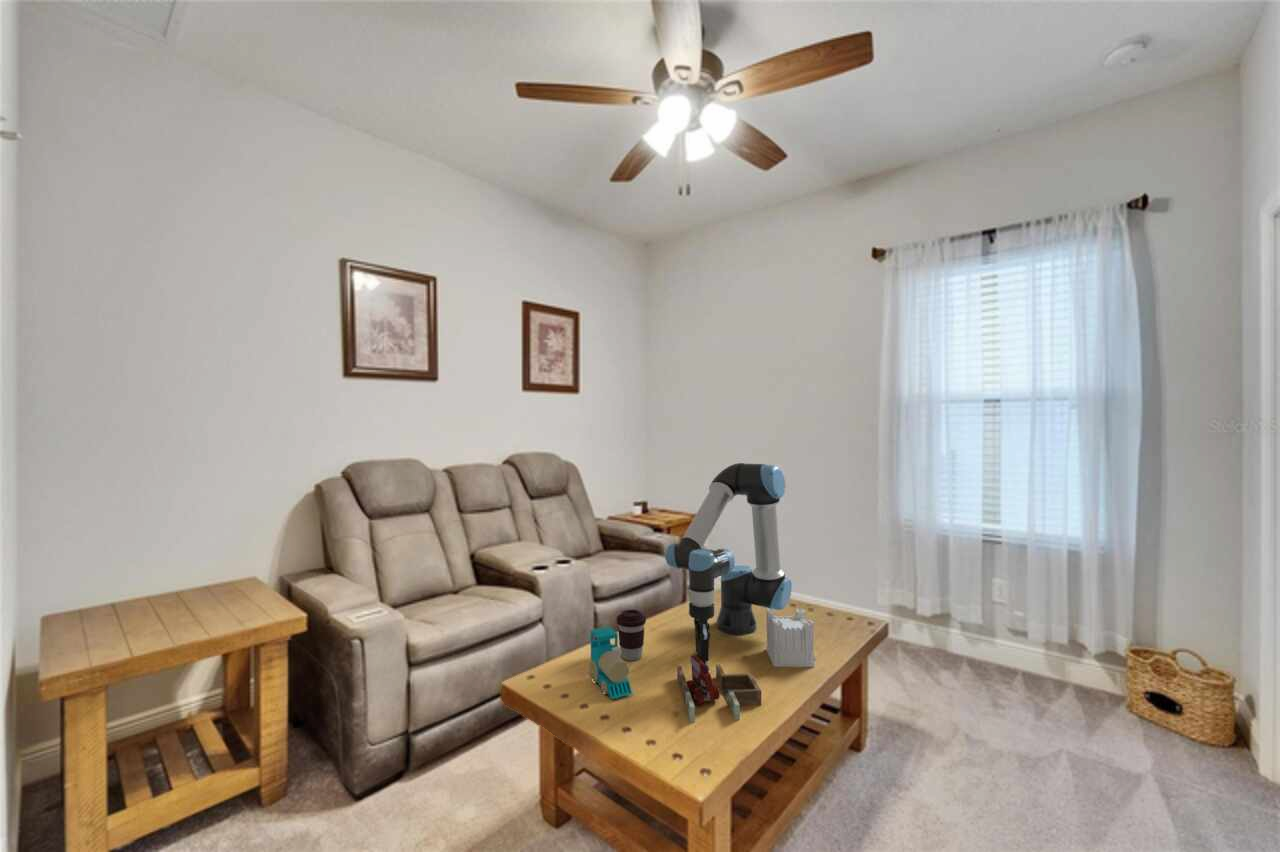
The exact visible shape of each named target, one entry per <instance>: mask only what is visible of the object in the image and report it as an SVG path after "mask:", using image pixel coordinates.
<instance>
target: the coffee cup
mask: <svg viewBox="0 0 1280 852" xmlns="http://www.w3.org/2000/svg"><path fill="white" fill-rule="evenodd" d="M646 622H647V617H646V615H644V614H642V612H641V611H640V610H638V609H626V610H623V611H622V612H621V613H620V614H618V615H617V616H616V624H617V625H618V628H617V630H618V632H617V633H618V642H619V643H618V644H619V648H621V649H620V658H621V659H622V660H624V659H625V660H624V661H628V660H630V661H633V660H634V661H638V660H640V659H641V658H642V657H643V647H644V641H645V640H644V639H645V627H644V626H645V624H646ZM630 661H629V662H630ZM634 661H633V662H634Z"/></svg>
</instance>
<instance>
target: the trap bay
mask: <svg viewBox="0 0 1280 852" xmlns="http://www.w3.org/2000/svg"><path fill="white" fill-rule="evenodd" d="M721 676H722V678H723V677H724V681H725V679H726V681H725V682H726V683H725V682H723V680H721V681H722V682H721V683H722V689H721V691H722V694H723V696H724V698H725V700H726V702H727V703H728V701H729V698H728V691H729V692H734V694H735V696H736V698H737V700H738V702H739V704H740V707H747V706H750V707H751V706H762V690H761V688H760V687H759V684H758V683H757V681H756V679H755V677H754V676H753V674H752V673H736V674H735V673H734V674H733V673H732V674H725V675H721ZM725 676H726V678H725ZM722 678H721V679H722ZM723 684H724V685H723ZM725 685H726V686H725ZM723 686H725V687H723Z"/></svg>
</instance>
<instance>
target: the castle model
mask: <svg viewBox="0 0 1280 852" xmlns="http://www.w3.org/2000/svg"><path fill="white" fill-rule="evenodd" d="M776 613H777V612H776V609H770V608H767V609H766V646H765V649H766V652H767V654H768V657H769V659H770V661H771V663H772V665H773V667H774V668H776V667H777V668H815V661H816V660H817V656H815V651H814V649H815V648H814V643H815V642H814V640H815V639H814V634H815V633H814V630H815V629H814V627H815V626H814V625H815V624H814V622H813V620H812V619H808V620H807V619H806V611H805V610H804V609H803V608H800V609H798V608H795V615H794V616H793V615H789V616H787V615H784V617H783V615H779V617H778V615H777V614H776Z"/></svg>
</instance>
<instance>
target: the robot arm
mask: <svg viewBox="0 0 1280 852" xmlns="http://www.w3.org/2000/svg"><path fill="white" fill-rule="evenodd" d="M785 489H786V480H785V476H784V473H783V471H782V469H781V468H780V467H778V466H777V465H773V464H767V463H743V462H739V463H738V462H737V463H734V464H731V465H729V466H727V467H725V468H724V469H723V470H721V471H720V472H719V473H718V474H717V475H716V476H715V477H714V479H712V481H711V483H710V484H709V486H708V491H709V492H708V493H707V495H706V497H705V498H704V500H703V501H702V503H701V505H700V507H699V509H698V511H697V512H696V514H695V516H694V517H693V518H692V521H691V522H690V524H689V526H688V527H687V529H686V530H685V532H684V534H683V536H682V537H681V539H680V541H679V542H678V543H671V544H669V545H668V546H667V548H666V550H665V555H664V557H665V562H666V564H667V565H668V566H670V567H673V568H675V569H678V570H679V569H682V570H687V571H688V577H689V578H688V580H689V581H688V588H689V590H688V591H687V593H686V594H687V596H689V597H688V601H689V604H688V610H689V611H688V615H689V617H691V618H693V623H694V624H693V625H694V636H695V637H694V638H695V639H694V641H695V642H694V643H695V653H696V655H697V656H698V657H699V658H700V659H701V660H702V661H703V662H704V664H705V665H707V666H708V663H707V662H709V654H710V650H709V649H710V638H711V633H710V631H709V630H710V622H708V620H710V619H712V618H714V616H715V604H714V603H715V579H717V578H719V577H720V601H721V603H720V604H721V605H720V609H719V613H718V615H717V617H716V627H717V629H718V630H719V631H721V632H723V633H727V634H730V635H747V634H751V633H755V632H756V630H757V620H756V617H755V614H754V611H753V607H752V606H758V607H763V608H767V609H770V610H771V609H774V610H775V611H776V610H777V611H782V610H783V609H785V608H786V606H787V605H788V603H789V601H790V598H791V596H792V589H793V588H792V587H793V584H792V580H791V579H790V578H788V577H786V573H785V570H784V569H783V568H782V567H781V562H780V549H779V547H780V546H779V545H780V544H779V531H778V518H777V517H778V516H777V505H778V504H779V503H780V500H781V498H783V497H784V495H785ZM738 495H740V496H746V503H747V504H748V505H750V506H751V514H752V528H753V539H754V542H753V543H754V554H755V555H754V556H755V566H756V567H754V569H753V568H752V567H751V566H749V565H735V564H736V561H735V556H734V555H733V553H732V552H731V551H730V550H728V549H726V548H718V549H716V550H715V549H714V550H713V549H707V548H704V545H705V544H706V542H707V540H708V538H709V537H710V534H711V533H712V531H713V529H714V527H715V526H716V524H717V522H718V520H719V519H720V517H721V515H722V513H724V512H723V511H724V510H725V508H726V506H727V505H728V503H729V502H731V501H733V499H734V498H735V497H736V496H738Z"/></svg>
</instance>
